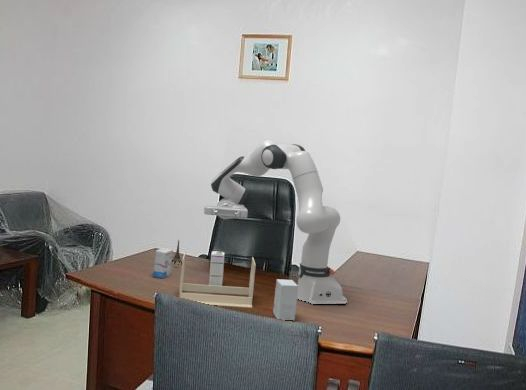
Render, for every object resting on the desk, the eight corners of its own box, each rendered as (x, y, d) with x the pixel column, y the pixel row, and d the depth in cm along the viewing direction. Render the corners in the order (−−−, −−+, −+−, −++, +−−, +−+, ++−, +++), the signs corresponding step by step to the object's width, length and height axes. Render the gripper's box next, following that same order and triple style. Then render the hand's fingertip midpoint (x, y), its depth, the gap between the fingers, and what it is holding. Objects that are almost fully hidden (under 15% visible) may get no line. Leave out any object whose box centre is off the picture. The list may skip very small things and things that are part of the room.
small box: (294, 321, 169) (298, 285, 168) (277, 320, 168) (281, 285, 166) (288, 313, 177) (292, 279, 176) (272, 312, 175) (276, 278, 174)
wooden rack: (249, 292, 197) (252, 255, 196) (252, 308, 178) (256, 266, 177) (181, 288, 194) (185, 250, 193) (178, 303, 176) (181, 261, 174)
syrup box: (221, 288, 200) (225, 254, 199) (208, 287, 200) (211, 253, 198) (222, 284, 206) (225, 251, 204) (208, 283, 205) (211, 250, 204)
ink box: (163, 278, 205) (165, 252, 204) (152, 277, 206) (154, 250, 205) (171, 274, 213) (173, 248, 212) (160, 272, 214) (162, 247, 213)
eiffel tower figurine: (173, 260, 242) (175, 234, 241) (191, 263, 240) (193, 237, 239) (159, 265, 228) (161, 238, 227) (178, 269, 225) (180, 241, 224)
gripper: (204, 201, 225) (203, 205, 211) (247, 205, 227) (249, 208, 214) (203, 214, 226) (202, 218, 212) (245, 218, 228) (247, 222, 214)
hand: (226, 213), depth 213 cm, fingers open, 8 cm apart
